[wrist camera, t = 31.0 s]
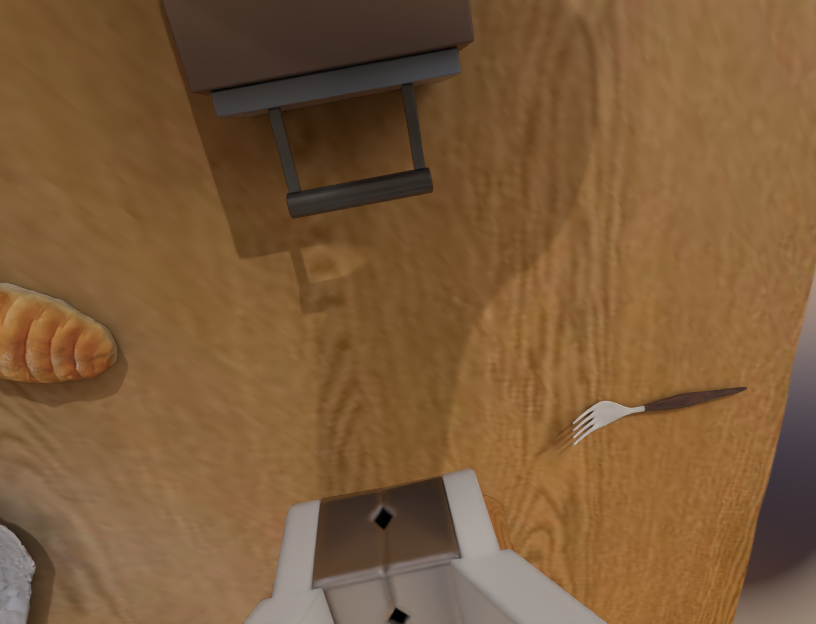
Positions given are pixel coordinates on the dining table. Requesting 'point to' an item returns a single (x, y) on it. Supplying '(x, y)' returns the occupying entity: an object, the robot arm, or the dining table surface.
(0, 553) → the food plate
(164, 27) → the dining table surface
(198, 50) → the cabinet
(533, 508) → the dining table surface
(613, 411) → the fork
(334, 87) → the drawer
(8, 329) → the pastry
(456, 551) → the robot arm
